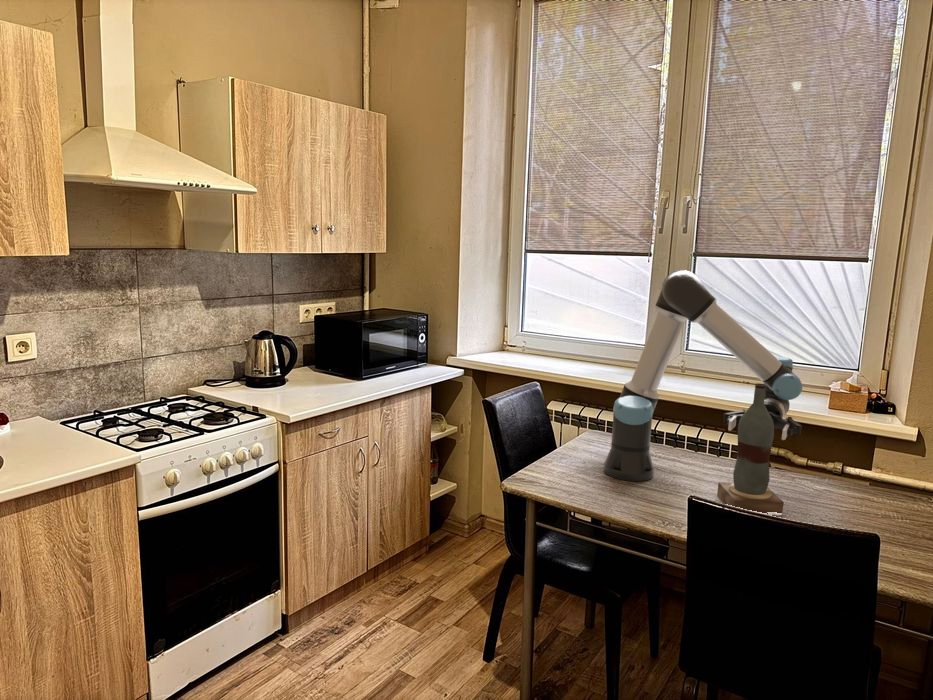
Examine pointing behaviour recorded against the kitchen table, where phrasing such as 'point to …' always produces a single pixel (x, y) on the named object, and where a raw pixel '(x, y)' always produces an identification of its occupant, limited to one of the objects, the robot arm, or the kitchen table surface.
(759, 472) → the vodka
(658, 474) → the kitchen table surface
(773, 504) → the soap dish
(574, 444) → the kitchen table surface
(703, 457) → the kitchen table surface
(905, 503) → the kitchen table surface
